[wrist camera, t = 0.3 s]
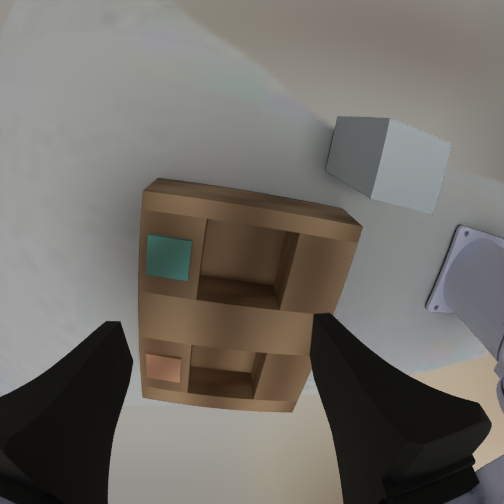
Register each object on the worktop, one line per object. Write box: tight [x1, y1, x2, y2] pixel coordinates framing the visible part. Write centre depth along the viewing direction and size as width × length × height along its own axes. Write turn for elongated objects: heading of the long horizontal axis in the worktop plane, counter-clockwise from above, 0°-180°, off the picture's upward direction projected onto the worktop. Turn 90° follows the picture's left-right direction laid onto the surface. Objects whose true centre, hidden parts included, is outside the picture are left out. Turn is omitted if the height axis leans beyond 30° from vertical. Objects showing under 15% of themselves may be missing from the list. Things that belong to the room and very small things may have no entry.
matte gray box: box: [325, 117, 451, 215], centre depth 15 cm, size 4×4×7 cm
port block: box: [138, 178, 363, 412], centre depth 21 cm, size 12×16×4 cm
